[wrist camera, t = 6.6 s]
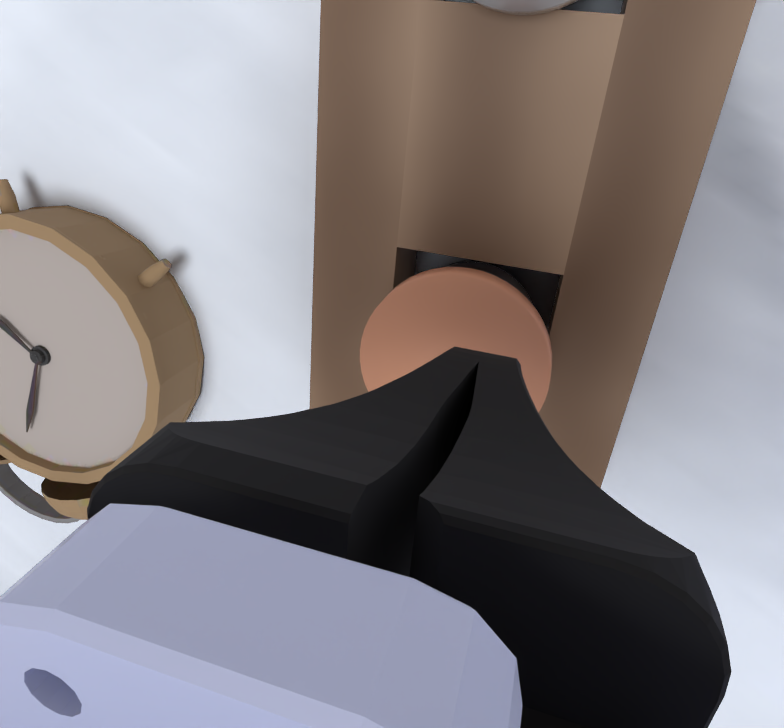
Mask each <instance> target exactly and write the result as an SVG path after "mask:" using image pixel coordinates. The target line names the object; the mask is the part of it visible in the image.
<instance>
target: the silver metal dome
mask: <svg viewBox="0 0 784 728" xmlns="http://www.w3.org/2000/svg"><path fill="white" fill-rule="evenodd" d="M473 1H474V2H476V3H478V4H480V5H482V6H484V7H486V8H488V9H491V10H494V11H497V12H500V13H506V14H512V15H534V14H541V13H547V12H550V11H554V10H557V9H561V8H563V7H565V6H568V5H570V4H572V3H574V2H577V1H578V0H473Z"/></svg>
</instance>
